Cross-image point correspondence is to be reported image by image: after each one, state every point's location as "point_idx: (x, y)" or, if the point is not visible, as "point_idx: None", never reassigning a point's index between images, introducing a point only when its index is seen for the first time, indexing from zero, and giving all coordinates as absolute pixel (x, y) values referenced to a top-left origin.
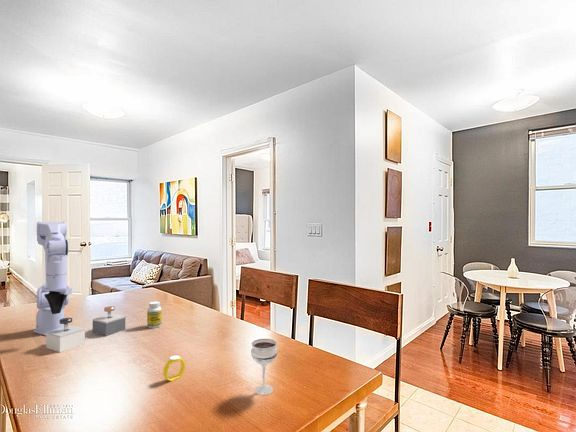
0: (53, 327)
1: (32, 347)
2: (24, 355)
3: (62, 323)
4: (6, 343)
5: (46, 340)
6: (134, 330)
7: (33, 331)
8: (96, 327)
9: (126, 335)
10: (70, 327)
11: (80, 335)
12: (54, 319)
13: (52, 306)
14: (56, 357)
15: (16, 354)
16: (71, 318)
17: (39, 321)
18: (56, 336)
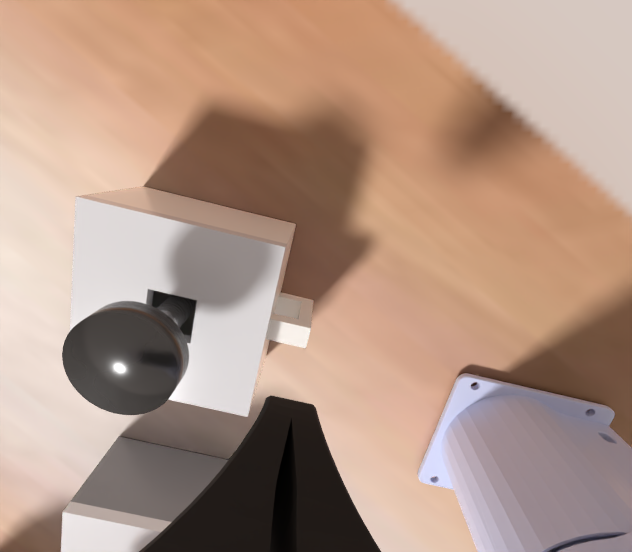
0: (469, 436)
1: (389, 210)
2: (317, 89)
3: (113, 305)
4: (626, 225)
5: (286, 231)
6: (51, 523)
7: (606, 406)
8: (194, 485)
9: (24, 463)
10: (196, 373)
11: None
12: (488, 486)
13: (257, 461)
14: (87, 115)
15: (386, 90)
16: (90, 396)
17: (616, 464)
18: (137, 208)
